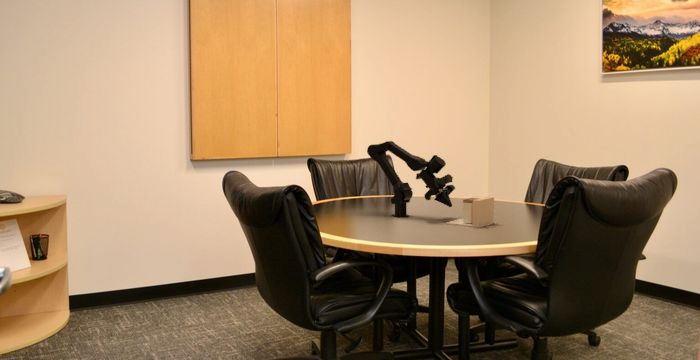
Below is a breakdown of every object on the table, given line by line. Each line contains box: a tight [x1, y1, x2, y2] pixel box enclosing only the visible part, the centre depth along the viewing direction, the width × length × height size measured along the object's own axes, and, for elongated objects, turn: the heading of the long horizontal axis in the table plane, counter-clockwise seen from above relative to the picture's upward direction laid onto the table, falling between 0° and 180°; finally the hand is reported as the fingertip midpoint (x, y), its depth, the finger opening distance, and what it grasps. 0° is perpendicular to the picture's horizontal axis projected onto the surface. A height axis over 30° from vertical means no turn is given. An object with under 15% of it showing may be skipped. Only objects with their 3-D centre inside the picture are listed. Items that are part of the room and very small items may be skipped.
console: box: [445, 196, 495, 229], centre depth 278 cm, size 16×14×12 cm
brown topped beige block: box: [462, 197, 480, 223], centre depth 277 cm, size 4×8×10 cm, turn 141°
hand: (451, 206), depth 284 cm, fingers closed
